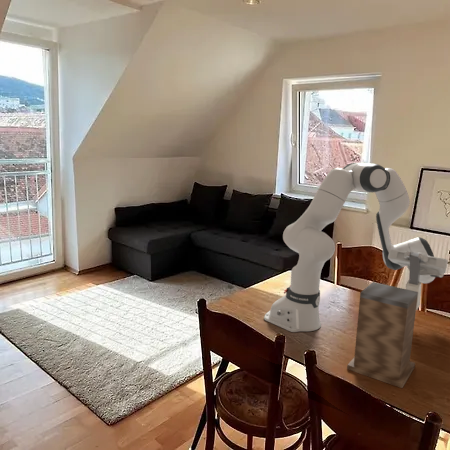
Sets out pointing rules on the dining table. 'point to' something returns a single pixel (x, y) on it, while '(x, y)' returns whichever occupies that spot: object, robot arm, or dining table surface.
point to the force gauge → (414, 276)
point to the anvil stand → (385, 334)
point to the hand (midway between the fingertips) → (414, 254)
